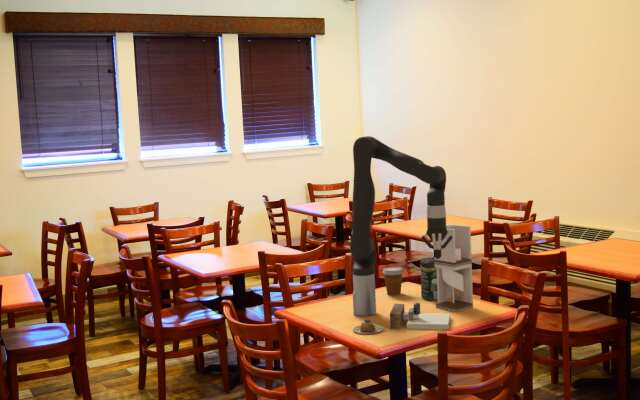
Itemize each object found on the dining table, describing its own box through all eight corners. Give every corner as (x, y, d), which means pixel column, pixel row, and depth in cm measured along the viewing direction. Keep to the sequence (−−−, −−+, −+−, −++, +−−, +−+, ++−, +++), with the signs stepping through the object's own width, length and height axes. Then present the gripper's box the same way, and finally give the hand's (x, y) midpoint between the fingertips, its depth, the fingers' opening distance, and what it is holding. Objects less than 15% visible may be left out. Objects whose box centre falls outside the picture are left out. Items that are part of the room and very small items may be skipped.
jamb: (390, 328, 306) (389, 313, 305) (395, 317, 321) (394, 303, 320) (401, 328, 305) (400, 314, 304) (405, 318, 320) (404, 303, 320)
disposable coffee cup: (382, 296, 359) (381, 271, 358) (384, 291, 369) (383, 266, 367) (403, 296, 358) (402, 270, 356) (404, 291, 367) (403, 266, 366)
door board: (406, 328, 304) (406, 315, 304) (410, 318, 320) (410, 305, 319) (448, 329, 301) (447, 315, 300) (450, 318, 316) (449, 305, 316)
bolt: (393, 318, 311) (392, 304, 311) (394, 316, 315) (393, 302, 314) (420, 319, 309) (419, 304, 308) (420, 316, 312) (420, 302, 312)
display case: (436, 307, 334) (433, 227, 330) (453, 303, 340) (450, 224, 336) (455, 312, 325) (453, 229, 321) (473, 307, 331) (470, 226, 327)
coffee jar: (418, 297, 354) (417, 257, 352) (434, 295, 356) (433, 255, 354) (428, 302, 345) (426, 260, 343) (444, 299, 347) (442, 259, 345)
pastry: (353, 327, 311) (353, 316, 311) (383, 327, 310) (383, 315, 310) (352, 336, 300) (351, 324, 299) (383, 335, 299) (382, 323, 298)
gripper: (419, 217, 309) (420, 260, 311) (452, 217, 306) (454, 260, 308) (420, 215, 317) (422, 257, 318) (453, 214, 314) (454, 256, 316)
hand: (437, 258), depth 313 cm, fingers closed
